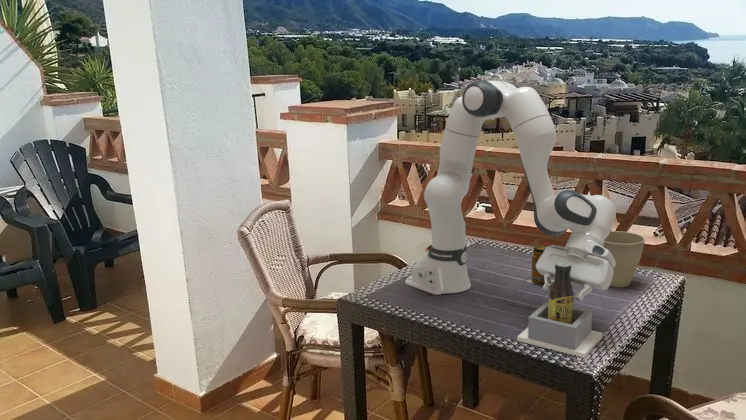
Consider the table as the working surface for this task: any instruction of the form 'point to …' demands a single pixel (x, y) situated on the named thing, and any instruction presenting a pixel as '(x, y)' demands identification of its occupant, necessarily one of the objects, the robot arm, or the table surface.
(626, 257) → the plant pot
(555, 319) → the sauce bottle
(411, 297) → the table surface
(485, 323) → the table surface
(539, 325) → the box
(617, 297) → the table surface
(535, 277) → the condiment
